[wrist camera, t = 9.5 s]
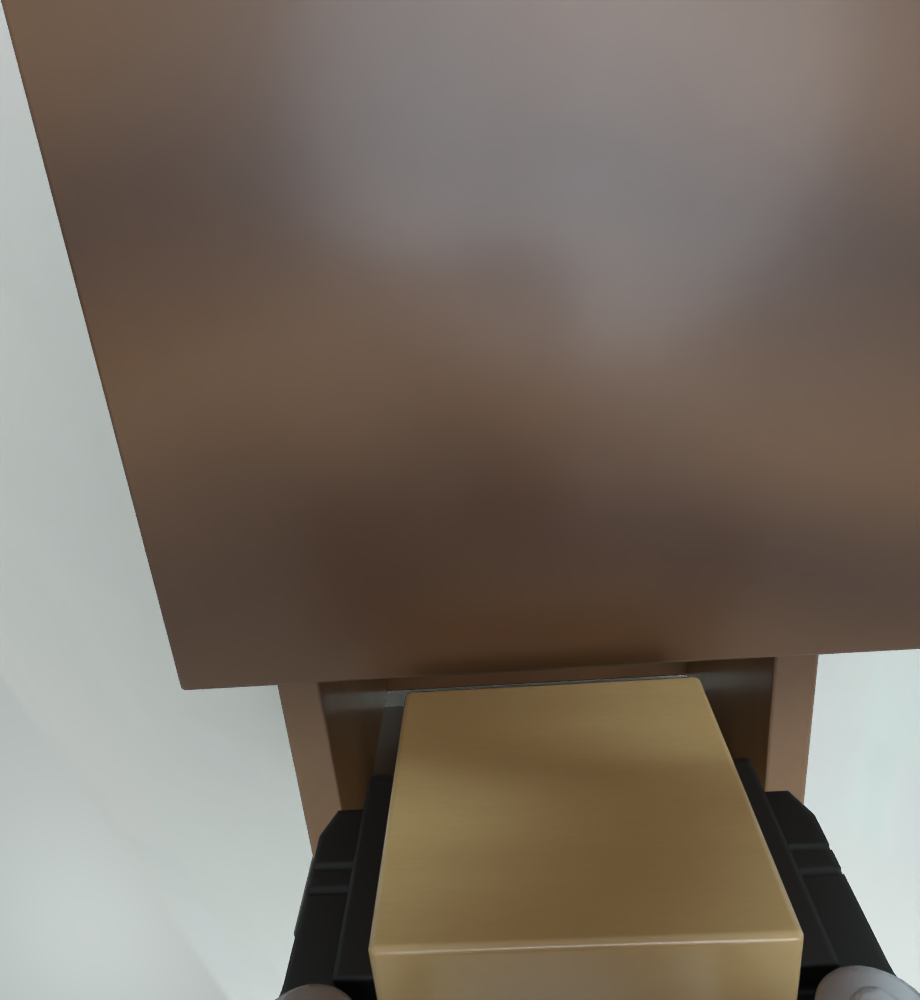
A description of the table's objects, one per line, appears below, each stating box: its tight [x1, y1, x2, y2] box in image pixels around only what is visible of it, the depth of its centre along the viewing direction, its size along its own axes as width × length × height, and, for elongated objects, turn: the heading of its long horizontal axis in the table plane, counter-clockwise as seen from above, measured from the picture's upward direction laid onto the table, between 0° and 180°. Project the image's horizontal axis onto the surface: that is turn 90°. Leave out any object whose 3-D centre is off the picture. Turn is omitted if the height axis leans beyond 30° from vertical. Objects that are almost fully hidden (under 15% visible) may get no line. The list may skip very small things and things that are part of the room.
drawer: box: [278, 654, 818, 936], centre depth 20 cm, size 18×11×8 cm, turn 5°
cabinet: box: [1, 0, 920, 690], centre depth 15 cm, size 15×13×10 cm
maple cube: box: [368, 677, 804, 1000], centre depth 11 cm, size 4×4×4 cm
